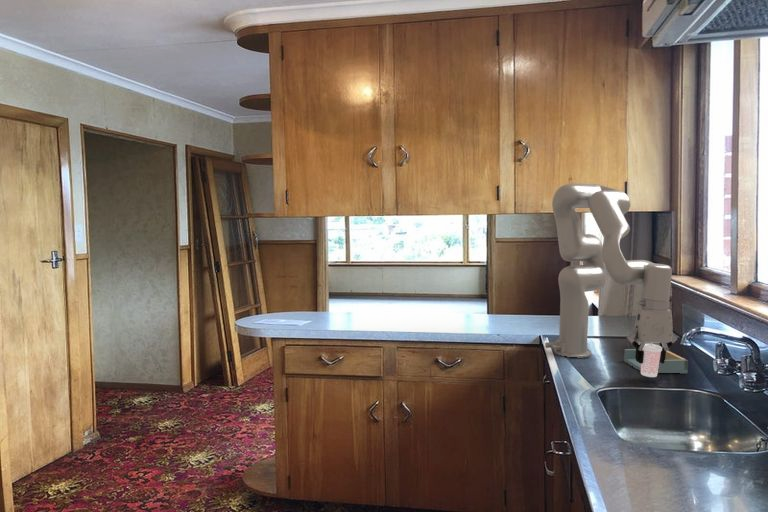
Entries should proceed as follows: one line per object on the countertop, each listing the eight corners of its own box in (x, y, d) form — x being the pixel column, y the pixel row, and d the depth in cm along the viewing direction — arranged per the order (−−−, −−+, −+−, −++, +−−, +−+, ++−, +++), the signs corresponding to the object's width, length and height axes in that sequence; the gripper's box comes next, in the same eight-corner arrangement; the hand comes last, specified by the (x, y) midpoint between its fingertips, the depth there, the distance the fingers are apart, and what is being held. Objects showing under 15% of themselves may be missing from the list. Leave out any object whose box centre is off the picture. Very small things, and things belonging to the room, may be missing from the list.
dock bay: (644, 373, 185) (645, 361, 185) (623, 361, 199) (624, 349, 199) (687, 373, 186) (688, 360, 186) (663, 360, 200) (664, 348, 200)
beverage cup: (634, 373, 181) (637, 329, 179) (644, 370, 184) (648, 326, 183) (653, 379, 176) (657, 334, 174) (663, 375, 180) (667, 331, 178)
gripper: (633, 307, 173) (628, 366, 175) (689, 307, 174) (683, 366, 177) (621, 301, 180) (617, 358, 183) (675, 302, 182) (670, 358, 184)
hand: (649, 361), depth 180 cm, fingers closed on beverage cup, 6 cm apart
